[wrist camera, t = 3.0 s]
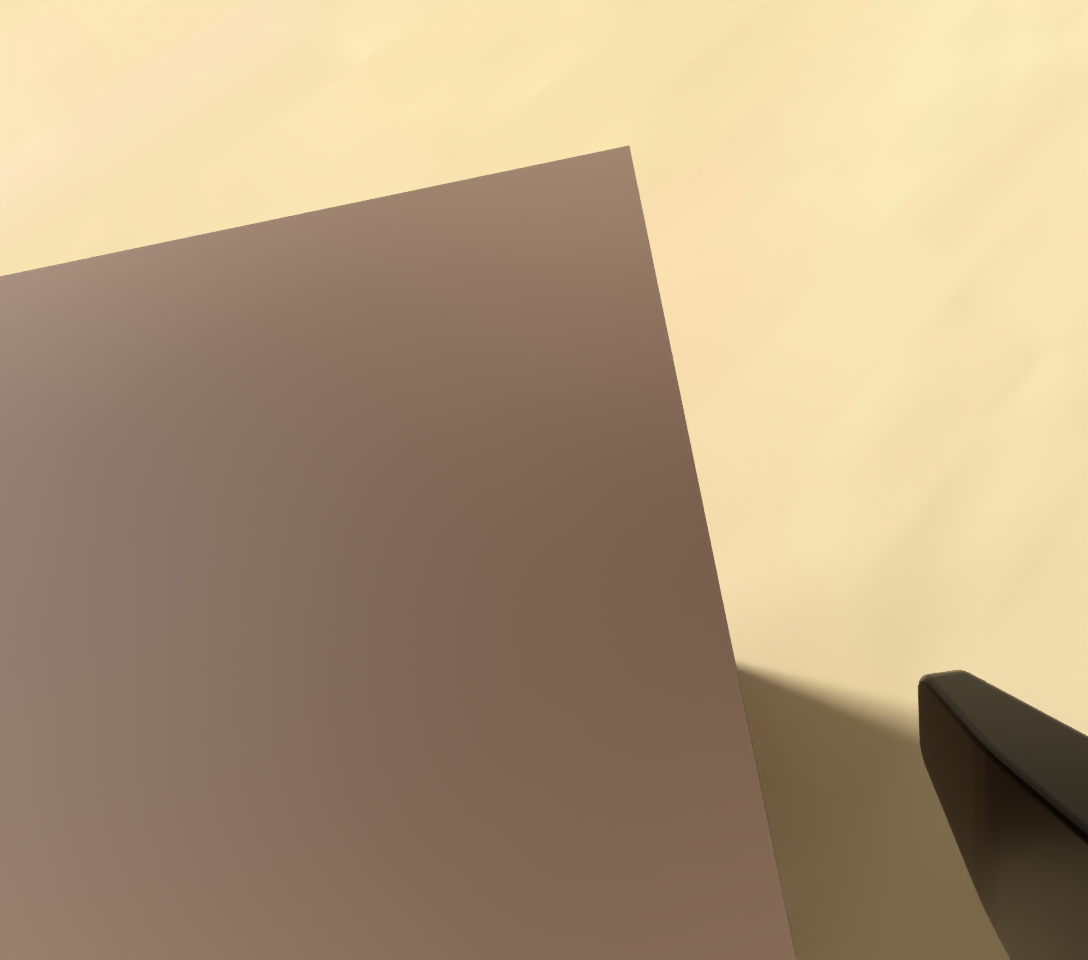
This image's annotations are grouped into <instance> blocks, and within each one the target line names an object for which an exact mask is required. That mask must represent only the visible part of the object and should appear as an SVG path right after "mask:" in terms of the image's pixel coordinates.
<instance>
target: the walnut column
mask: <svg viewBox="0 0 1088 960" xmlns="http://www.w3.org/2000/svg"><path fill="white" fill-rule="evenodd" d="M0 960H796V956H795V951H794V947H793V942H792V937H791V932H790V927H789V922H788V917H787V912H786V907H785V903H784V898H783V893H782V888H781V883H780V878H779V873H778V869H777V864H776V859H775V854H774V849H773V844H772V839H771V834H770V830H769V825H768V820H767V815H766V810H765V805H764V800H763V795H762V791H761V786H760V781H759V776H758V771H757V766H756V761H755V756H754V752H753V747H752V742H751V737H750V732H749V727H748V722H747V717H746V713H745V708H744V703H743V698H742V693H741V688H740V683H739V678H738V674H737V669H736V664H735V659H734V654H733V649H732V644H731V639H730V635H729V630H728V625H727V620H726V615H725V610H724V605H723V600H722V596H721V591H720V586H719V581H718V576H717V571H716V566H715V561H714V557H713V552H712V547H711V542H710V537H709V532H708V527H707V522H706V518H705V513H704V508H703V503H702V498H701V493H700V488H699V483H698V479H697V474H696V469H695V464H694V459H693V454H692V449H691V444H690V440H689V435H688V430H687V425H686V420H685V415H684V410H683V405H682V401H681V396H680V391H679V386H678V381H677V376H676V371H675V366H674V362H673V357H672V352H671V347H670V342H669V337H668V332H667V327H666V323H665V318H664V313H663V308H662V303H661V298H660V293H659V288H658V284H657V279H656V274H655V269H654V264H653V259H652V254H651V249H650V245H649V240H648V235H647V230H646V225H645V220H644V215H643V210H642V206H641V201H640V196H639V191H638V186H637V181H636V176H635V171H634V167H633V162H632V157H631V152H630V147H629V146H625V147H620V148H616V149H611V150H606V151H601V152H596V153H592V154H587V155H582V156H577V157H572V158H568V159H563V160H558V161H553V162H548V163H544V164H539V165H534V166H529V167H524V168H520V169H515V170H510V171H505V172H500V173H495V174H491V175H486V176H481V177H476V178H471V179H467V180H462V181H457V182H452V183H447V184H443V185H438V186H433V187H428V188H423V189H419V190H414V191H409V192H404V193H399V194H395V195H390V196H385V197H380V198H375V199H370V200H366V201H361V202H356V203H351V204H346V205H342V206H337V207H332V208H327V209H322V210H318V211H313V212H308V213H303V214H298V215H294V216H289V217H284V218H279V219H274V220H270V221H265V222H260V223H255V224H250V225H246V226H241V227H236V228H231V229H226V230H221V231H217V232H212V233H207V234H202V235H197V236H193V237H188V238H183V239H178V240H173V241H169V242H164V243H159V244H154V245H149V246H145V247H140V248H135V249H130V250H125V251H121V252H116V253H111V254H106V255H101V256H97V257H92V258H87V259H82V260H77V261H72V262H68V263H63V264H58V265H53V266H48V267H44V268H39V269H34V270H29V271H24V272H20V273H15V274H10V275H5V276H0Z"/></svg>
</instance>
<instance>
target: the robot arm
mask: <svg viewBox="0 0 1088 960" xmlns="http://www.w3.org/2000/svg"><path fill="white" fill-rule="evenodd" d="M918 705H919V735H920V747H921V752H922V756H923V760H924V763H925V766H926V768H927V771H928V773H929V776H930V778H931V781H932V783H933V786H934V788H935V791H936V793H937V795H938V798H939V800H940V803H941V805H942V808H943V810H944V813H945V815H946V817H947V820H948V822H949V825H950V827H951V830H952V832H953V835H954V837H955V839H956V842H957V844H958V847H959V849H960V852H961V854H962V857H963V859H964V861H965V864H966V866H967V869H968V871H969V874H970V876H971V879H972V881H973V884H974V886H975V888H976V891H977V893H978V895H979V898H980V900H981V902H982V905H983V907H984V909H985V911H986V913H987V915H988V917H989V919H990V921H991V923H992V925H993V927H994V929H995V931H996V933H997V935H998V937H999V939H1000V941H1001V943H1002V944H1003V946H1004V948H1005V950H1006V952H1007V954H1008V955H1009V957H1010V959H1011V960H1088V736H1087V735H1085V734H1083V733H1081V732H1079V731H1077V730H1075V729H1073V728H1072V727H1070V726H1068V725H1066V724H1064V723H1062V722H1060V721H1058V720H1057V719H1055V718H1053V717H1051V716H1049V715H1047V714H1045V713H1043V712H1042V711H1040V710H1038V709H1036V708H1034V707H1032V706H1030V705H1029V704H1027V703H1025V702H1023V701H1021V700H1019V699H1017V698H1015V697H1014V696H1012V695H1010V694H1008V693H1006V692H1004V691H1002V690H1000V689H999V688H997V687H995V686H993V685H991V684H989V683H987V682H985V681H984V680H982V679H980V678H978V677H976V676H974V675H972V674H971V673H968V672H966V671H962V670H954V671H947V672H940V673H933V674H926V675H924V676H923V677H922V678H921V679H920V681H919V685H918Z"/></svg>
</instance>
